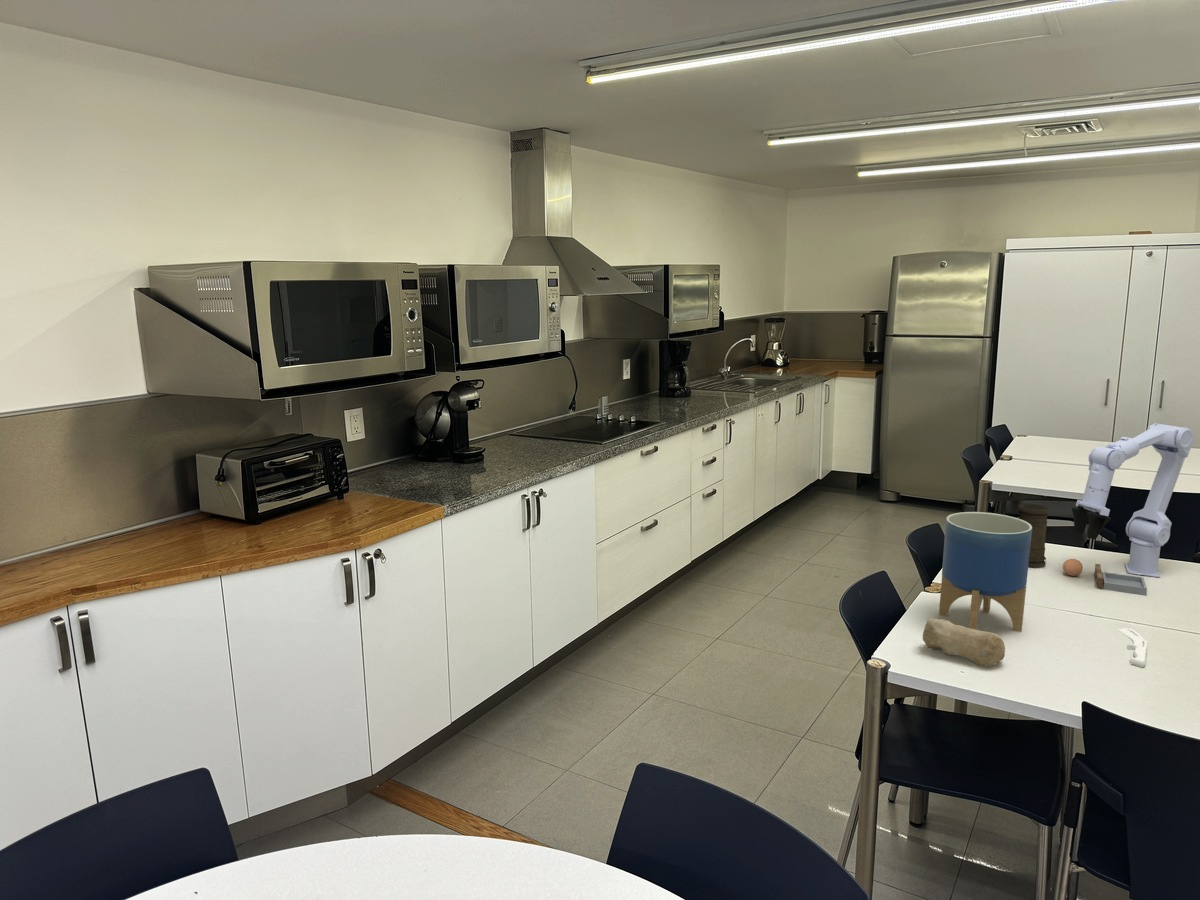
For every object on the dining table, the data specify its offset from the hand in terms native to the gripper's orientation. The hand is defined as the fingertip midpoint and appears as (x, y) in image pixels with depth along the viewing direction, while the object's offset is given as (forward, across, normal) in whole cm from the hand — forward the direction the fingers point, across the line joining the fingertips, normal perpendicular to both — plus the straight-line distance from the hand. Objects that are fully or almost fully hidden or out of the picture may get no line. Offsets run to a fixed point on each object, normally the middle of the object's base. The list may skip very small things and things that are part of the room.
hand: (1084, 535), depth 231 cm
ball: (+13, -8, +3) cm, 15 cm away
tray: (+12, +1, +13) cm, 18 cm away
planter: (+24, +30, -34) cm, 52 cm away
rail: (+12, -3, +8) cm, 15 cm away
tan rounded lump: (+28, +50, -44) cm, 73 cm away
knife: (+19, +38, -3) cm, 43 cm away
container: (+14, -18, -5) cm, 23 cm away
